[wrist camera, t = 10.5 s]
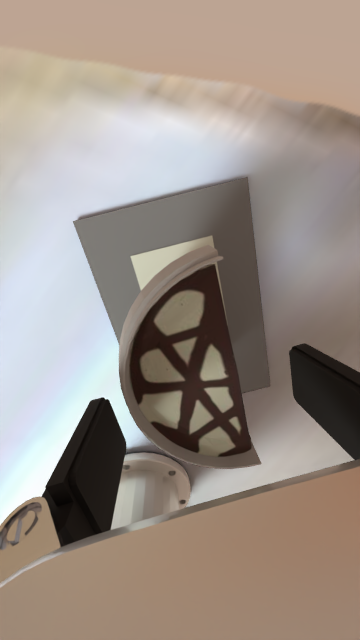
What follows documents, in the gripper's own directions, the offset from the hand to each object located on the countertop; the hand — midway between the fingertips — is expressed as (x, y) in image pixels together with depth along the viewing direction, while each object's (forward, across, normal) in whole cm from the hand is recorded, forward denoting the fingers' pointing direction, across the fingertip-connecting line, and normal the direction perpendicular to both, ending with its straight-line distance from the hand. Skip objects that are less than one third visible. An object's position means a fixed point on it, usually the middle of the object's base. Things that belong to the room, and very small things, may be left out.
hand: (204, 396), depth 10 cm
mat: (+10, -1, -2) cm, 10 cm away
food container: (+10, +1, -1) cm, 10 cm away
